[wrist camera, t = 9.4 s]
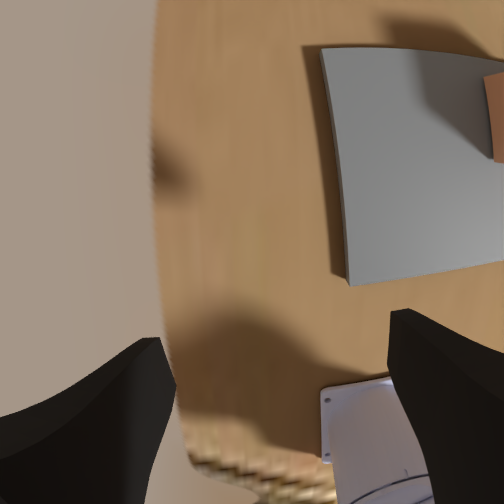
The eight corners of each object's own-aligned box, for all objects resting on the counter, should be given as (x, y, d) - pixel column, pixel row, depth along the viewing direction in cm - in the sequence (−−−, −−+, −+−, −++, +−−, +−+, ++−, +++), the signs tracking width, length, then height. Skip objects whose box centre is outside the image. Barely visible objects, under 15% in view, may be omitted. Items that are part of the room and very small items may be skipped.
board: (543, 245, 17) (551, 249, 16) (346, 279, 19) (349, 286, 18) (535, 74, 13) (543, 72, 12) (318, 54, 15) (321, 48, 14)
